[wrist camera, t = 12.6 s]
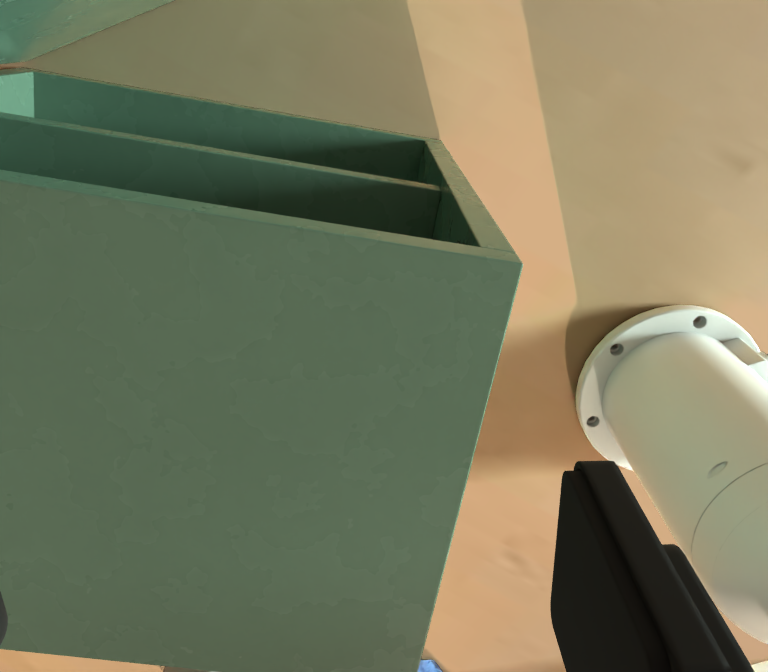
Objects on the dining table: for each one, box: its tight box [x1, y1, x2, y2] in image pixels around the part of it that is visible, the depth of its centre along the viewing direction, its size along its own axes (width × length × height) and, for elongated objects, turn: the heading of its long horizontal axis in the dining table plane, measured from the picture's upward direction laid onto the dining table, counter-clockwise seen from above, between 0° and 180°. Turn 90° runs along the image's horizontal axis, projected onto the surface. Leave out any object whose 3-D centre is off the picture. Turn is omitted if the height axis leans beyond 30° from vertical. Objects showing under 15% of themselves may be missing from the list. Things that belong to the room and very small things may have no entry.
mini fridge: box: [0, 67, 523, 672], centre depth 33 cm, size 17×24×24 cm
